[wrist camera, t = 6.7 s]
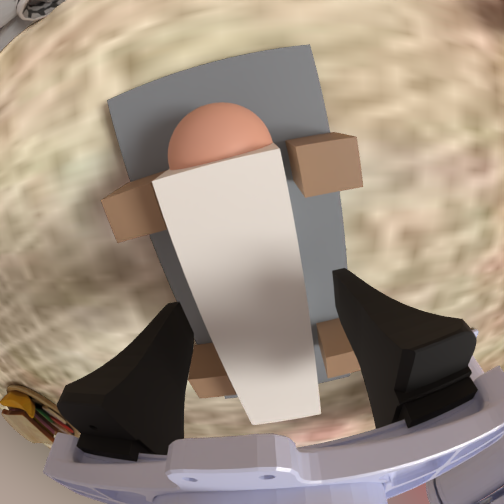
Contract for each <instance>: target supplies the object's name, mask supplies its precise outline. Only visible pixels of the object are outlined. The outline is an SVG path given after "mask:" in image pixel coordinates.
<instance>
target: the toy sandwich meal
mask: <svg viewBox="0 0 504 504" xmlns="http://www.w3.org/2000/svg"><path fill="white" fill-rule="evenodd" d="M0 403H1V404H2V405H3V406H7V407H8V409H9V410H6V409H3V411H2V416H3V417H4V419H5V420H6V421H7V422H8V423H9V424H10V425H11V426H12V427H13V428H14V429H15V430H16V431H17V432H18V433H19V434H20V435H22V436H23V437H24V438H26V439H27V440H29V441H30V442H32V443H48V444H53V442H54V439H55V438H54V435H56V434H57V433H58V432H60V433H64V434H69V435H73V436H75V437H77V438H79V437H80V434H79V431H78V430H77V429H75V428H74V427H73V426H72V425H71V424H70V423H69V422H68V421H67V420H66V419H65V418H64V417H63V416H62V415H61V414H60V412H59V411H58V408H57V406H56V405H55V404H53V403H52V402H51V401H49V400H48V399H46V398H45V397H43V396H42V395H40V394H38V393H37V392H35V391H33V390H31V389H29V388H27V387H24V386H20V385H11V386H8V387H7V395H6V396H5V397H4V398H3V399H2V400H1V401H0Z"/></svg>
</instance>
